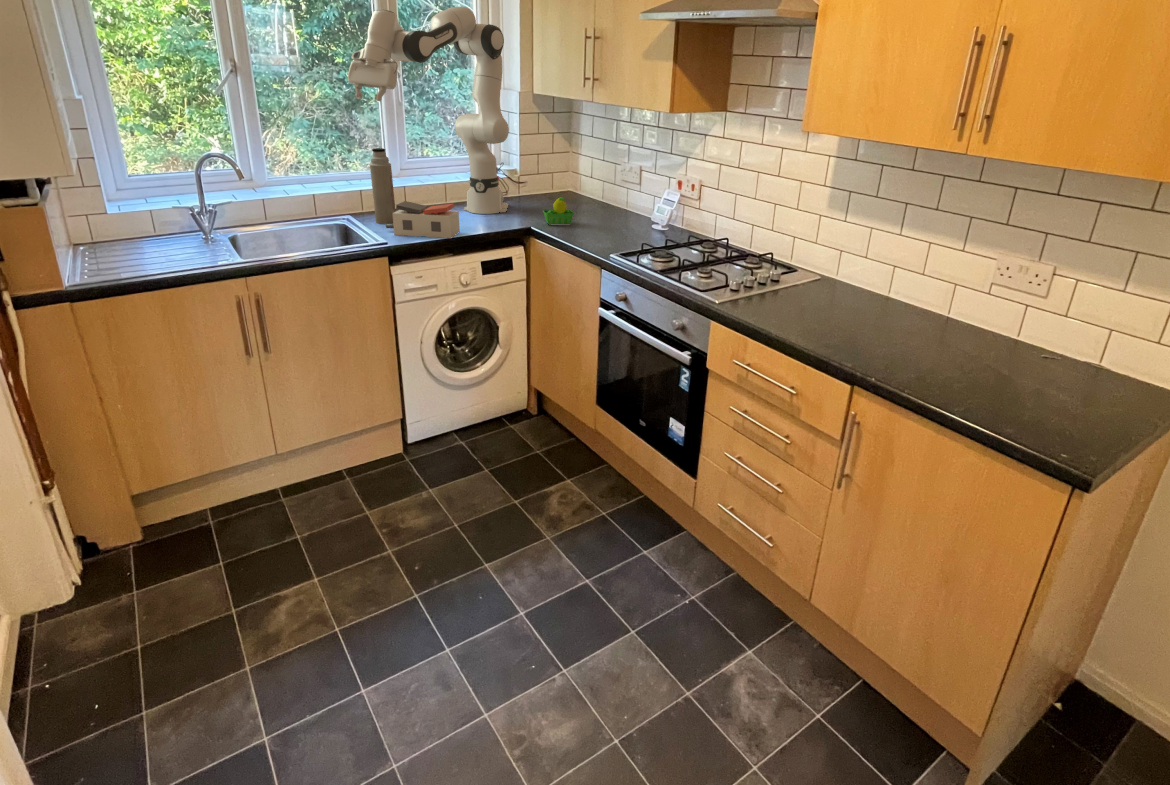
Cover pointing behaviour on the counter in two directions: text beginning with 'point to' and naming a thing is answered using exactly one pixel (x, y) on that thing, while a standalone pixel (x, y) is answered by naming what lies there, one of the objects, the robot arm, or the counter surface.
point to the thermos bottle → (382, 187)
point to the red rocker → (438, 209)
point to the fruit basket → (558, 213)
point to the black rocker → (411, 207)
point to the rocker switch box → (425, 224)
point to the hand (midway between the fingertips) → (367, 99)
